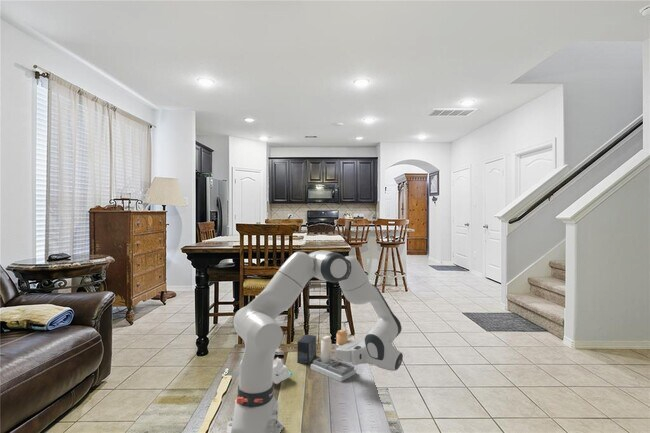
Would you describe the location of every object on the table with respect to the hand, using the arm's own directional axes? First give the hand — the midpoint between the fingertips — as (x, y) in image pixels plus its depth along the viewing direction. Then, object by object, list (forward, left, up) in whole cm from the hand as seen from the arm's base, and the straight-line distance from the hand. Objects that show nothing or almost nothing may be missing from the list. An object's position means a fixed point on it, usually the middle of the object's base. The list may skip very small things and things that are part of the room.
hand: (340, 343), depth 159 cm
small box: (+14, +16, -14) cm, 26 cm away
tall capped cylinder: (-1, -1, -6) cm, 7 cm away
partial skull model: (-7, +27, -14) cm, 31 cm away
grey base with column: (+2, +3, -14) cm, 14 cm away
